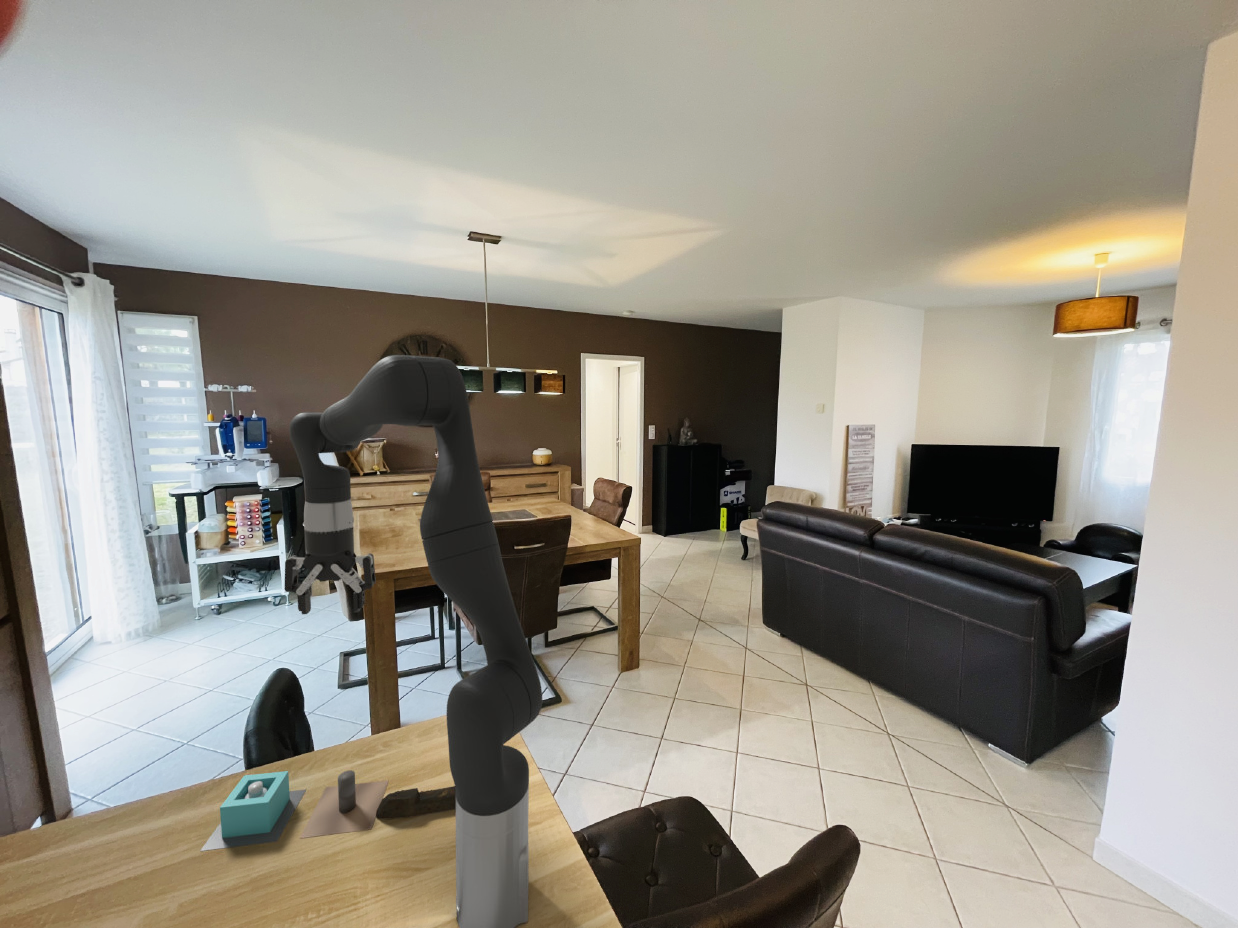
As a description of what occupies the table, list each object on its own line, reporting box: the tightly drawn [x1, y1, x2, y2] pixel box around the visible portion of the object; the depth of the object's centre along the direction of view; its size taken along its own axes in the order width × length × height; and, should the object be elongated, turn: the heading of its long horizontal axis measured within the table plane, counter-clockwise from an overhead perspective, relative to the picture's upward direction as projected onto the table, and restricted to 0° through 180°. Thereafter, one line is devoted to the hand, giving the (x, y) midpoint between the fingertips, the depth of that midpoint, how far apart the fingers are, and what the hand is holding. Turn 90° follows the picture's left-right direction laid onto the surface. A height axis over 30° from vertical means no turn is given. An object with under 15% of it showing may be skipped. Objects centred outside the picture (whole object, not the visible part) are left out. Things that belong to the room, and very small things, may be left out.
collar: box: [219, 770, 290, 838], centre depth 76 cm, size 6×6×5 cm
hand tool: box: [375, 785, 456, 820], centre depth 80 cm, size 19×4×5 cm, turn 104°
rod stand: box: [299, 770, 389, 839], centre depth 78 cm, size 10×10×6 cm
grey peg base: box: [199, 781, 307, 852], centre depth 76 cm, size 10×10×6 cm
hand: (332, 611), depth 88 cm, fingers open, 8 cm apart
